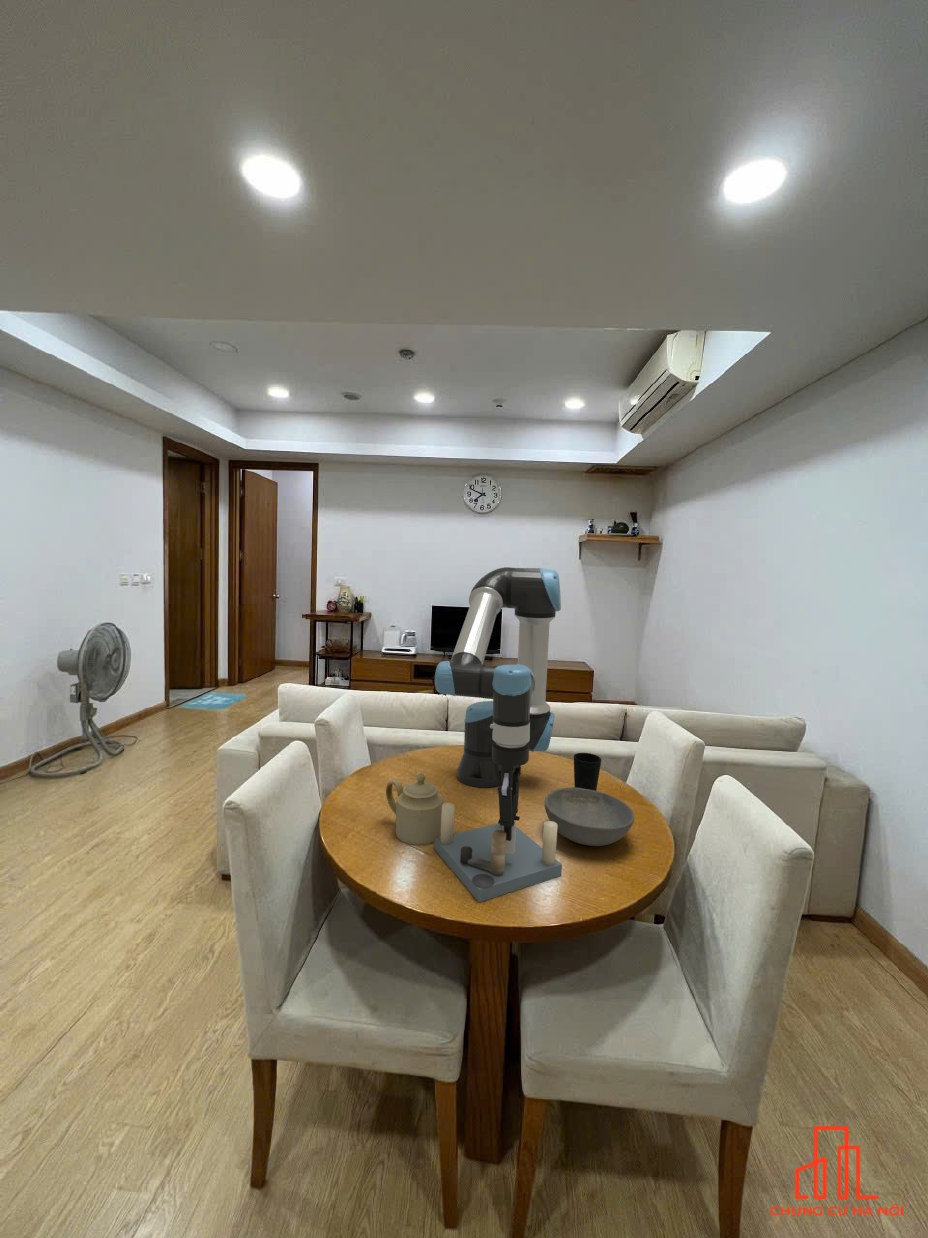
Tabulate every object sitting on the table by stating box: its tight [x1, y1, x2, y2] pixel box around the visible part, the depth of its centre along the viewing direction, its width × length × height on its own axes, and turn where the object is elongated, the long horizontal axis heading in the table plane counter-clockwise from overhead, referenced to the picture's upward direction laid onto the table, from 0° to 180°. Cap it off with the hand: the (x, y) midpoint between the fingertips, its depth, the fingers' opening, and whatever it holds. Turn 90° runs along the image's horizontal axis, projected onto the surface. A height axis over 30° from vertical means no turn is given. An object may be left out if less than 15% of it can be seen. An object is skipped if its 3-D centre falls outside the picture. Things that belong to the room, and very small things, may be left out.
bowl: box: [544, 787, 635, 847], centre depth 119 cm, size 21×21×8 cm
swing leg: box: [460, 830, 506, 875], centre depth 100 cm, size 10×3×8 cm, turn 64°
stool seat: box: [433, 802, 563, 903], centre depth 106 cm, size 20×20×11 cm
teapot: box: [385, 772, 444, 846], centre depth 117 cm, size 15×11×15 cm
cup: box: [573, 752, 602, 791], centre depth 139 cm, size 8×8×12 cm
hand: (508, 852), depth 102 cm, fingers closed
